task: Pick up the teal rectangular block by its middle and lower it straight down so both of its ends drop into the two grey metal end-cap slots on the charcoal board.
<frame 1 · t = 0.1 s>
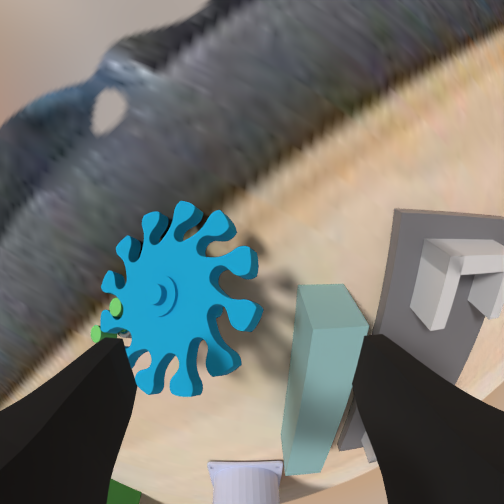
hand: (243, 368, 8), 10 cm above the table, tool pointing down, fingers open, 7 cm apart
cradle: (421, 353, 21), on the table
hardback book: (100, 489, 32), on the table
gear: (175, 270, 18), on the table
teal rectangular block: (307, 374, 22), on the table
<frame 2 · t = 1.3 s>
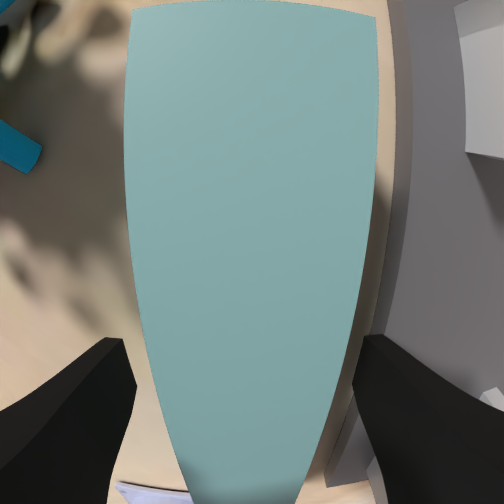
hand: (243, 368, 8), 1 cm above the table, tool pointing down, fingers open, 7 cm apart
cradle: (483, 296, 10), on the table
teal rectangular block: (243, 334, 10), on the table
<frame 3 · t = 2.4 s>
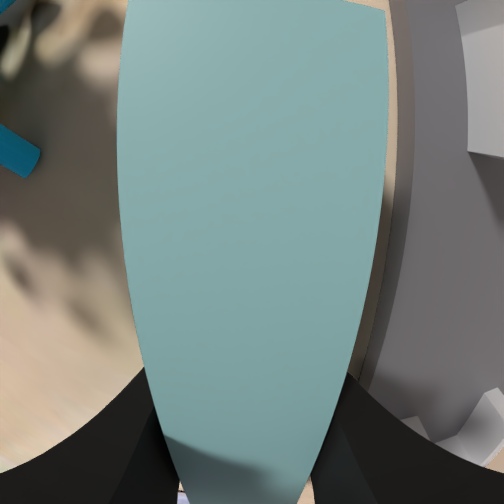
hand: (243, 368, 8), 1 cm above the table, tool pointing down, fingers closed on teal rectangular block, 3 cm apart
cradle: (485, 296, 10), on the table
teal rectangular block: (243, 337, 10), on the table, touching gripper
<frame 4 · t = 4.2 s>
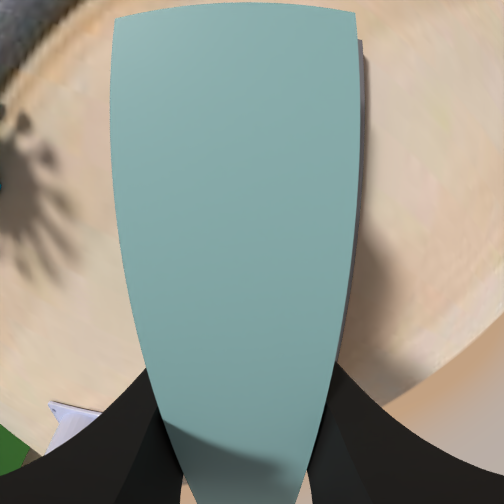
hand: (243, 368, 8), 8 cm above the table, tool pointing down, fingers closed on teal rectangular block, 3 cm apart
cradle: (250, 260, 16), on the table
hardback book: (6, 444, 27), on the table
teal rectangular block: (242, 333, 10), point 7 cm above the table, touching gripper
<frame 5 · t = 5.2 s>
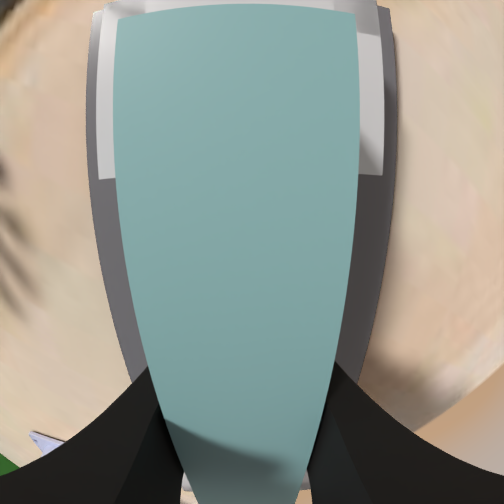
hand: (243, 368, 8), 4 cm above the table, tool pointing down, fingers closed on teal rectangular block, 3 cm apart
cradle: (242, 298, 12), on the table
teal rectangular block: (243, 331, 10), point 2 cm above the table, touching gripper
when the fingers open (4 cm above the table, at t = 6.0 s): teal rectangular block stays where it is, resting on cradle.
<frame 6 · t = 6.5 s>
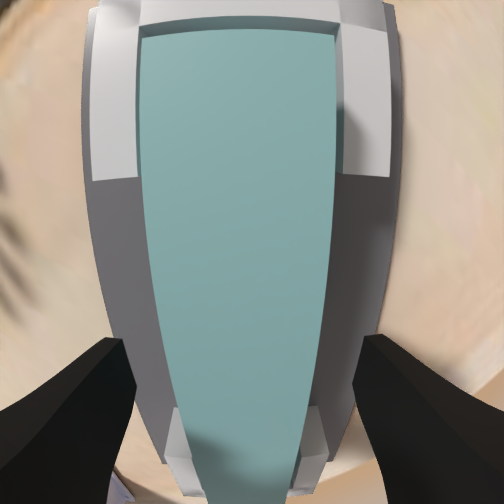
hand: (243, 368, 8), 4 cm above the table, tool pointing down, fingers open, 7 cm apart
cradle: (243, 302, 12), on the table
teal rectangular block: (242, 316, 11), point 1 cm above the table, touching cradle
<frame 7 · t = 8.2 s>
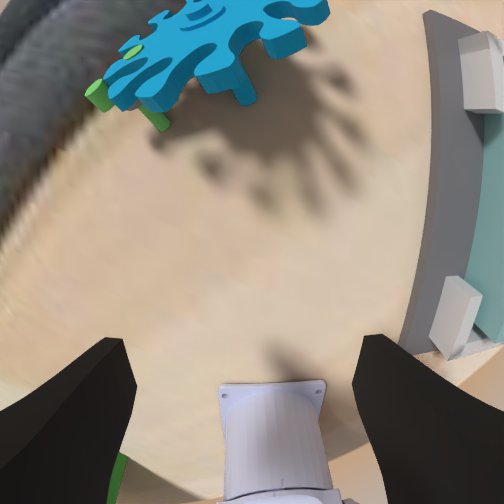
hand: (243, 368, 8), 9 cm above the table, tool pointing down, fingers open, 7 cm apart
cradle: (484, 196, 16), on the table
hardback book: (79, 457, 27), on the table
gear: (206, 56, 13), on the table
teal rectangular block: (493, 199, 15), point 1 cm above the table, touching cradle
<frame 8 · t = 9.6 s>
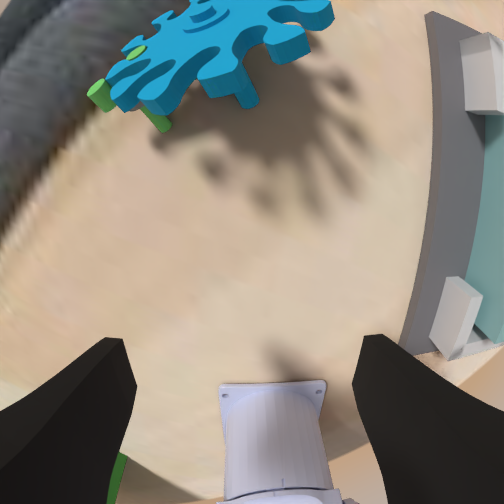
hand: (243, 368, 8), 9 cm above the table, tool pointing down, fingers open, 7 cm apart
cradle: (485, 197, 16), on the table
hardback book: (78, 457, 27), on the table
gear: (209, 57, 14), on the table
teal rectangular block: (493, 200, 15), point 1 cm above the table, touching cradle
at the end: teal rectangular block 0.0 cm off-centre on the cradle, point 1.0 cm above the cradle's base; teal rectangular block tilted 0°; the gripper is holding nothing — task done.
